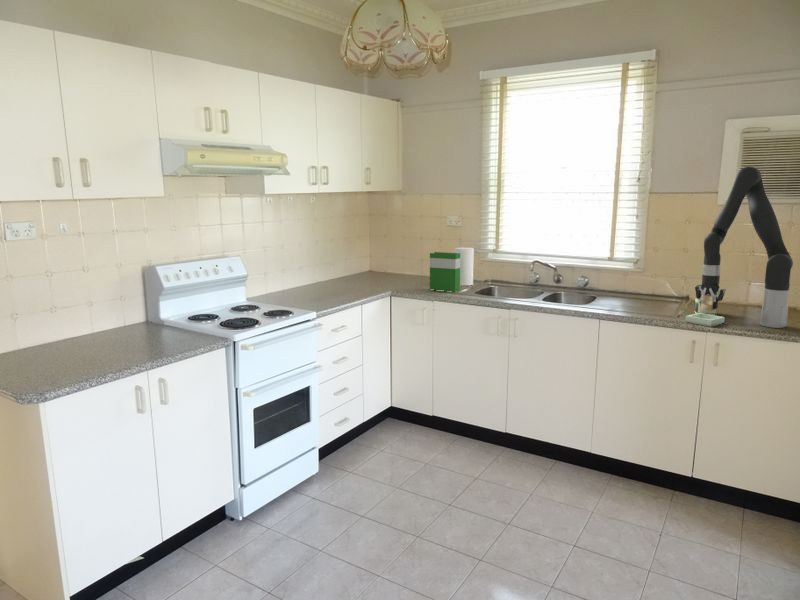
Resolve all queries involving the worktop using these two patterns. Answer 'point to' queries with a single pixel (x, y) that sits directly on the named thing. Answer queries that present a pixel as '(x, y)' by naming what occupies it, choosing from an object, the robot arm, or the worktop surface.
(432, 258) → the green cereal box
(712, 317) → the tray
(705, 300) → the maple block
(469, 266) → the cylinder
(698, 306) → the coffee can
